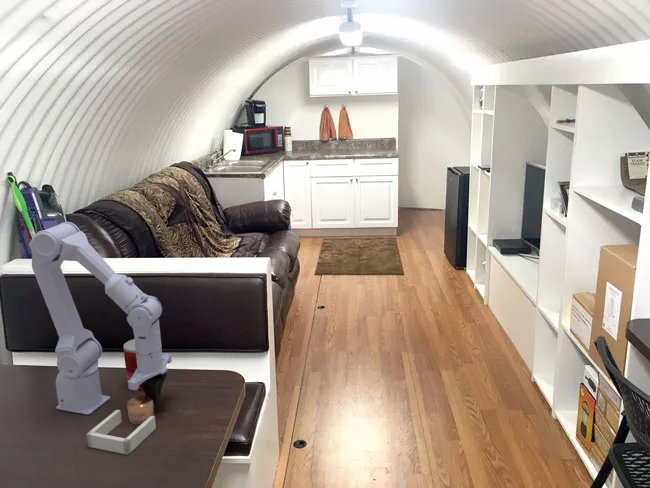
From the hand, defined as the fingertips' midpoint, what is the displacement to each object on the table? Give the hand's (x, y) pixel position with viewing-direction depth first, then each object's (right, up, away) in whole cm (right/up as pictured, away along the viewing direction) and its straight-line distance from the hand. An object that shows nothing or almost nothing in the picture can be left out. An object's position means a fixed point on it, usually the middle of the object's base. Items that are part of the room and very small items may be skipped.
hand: (154, 402), depth 134 cm
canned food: (-7, +1, +13) cm, 14 cm away
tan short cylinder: (-2, -2, -3) cm, 4 cm away
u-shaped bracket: (-4, -5, -11) cm, 12 cm away
